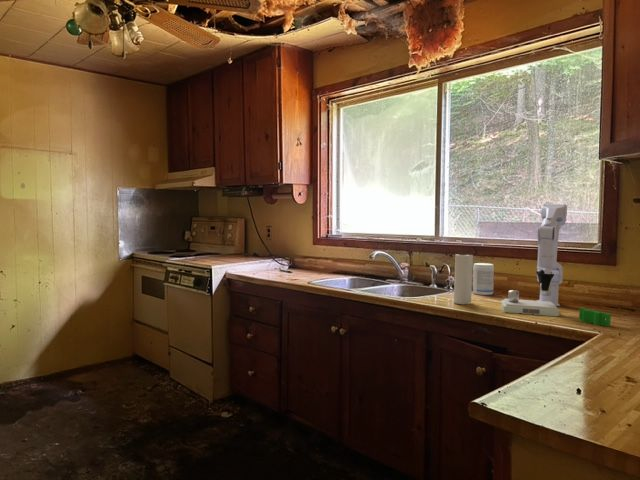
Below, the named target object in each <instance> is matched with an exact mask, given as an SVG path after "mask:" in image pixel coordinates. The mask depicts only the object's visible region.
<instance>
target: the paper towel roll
mask: <svg viewBox="0 0 640 480" xmlns="http://www.w3.org/2000/svg"><path fill="white" fill-rule="evenodd" d="M454 259H455V260H454V285H453V288H454V289H453V303H454V304H457V305H469V304H470V303H472V293H473V266H474V262H473V261H474V254H465V253H459V254H458V253H457V254H456V253H455V257H454Z"/></svg>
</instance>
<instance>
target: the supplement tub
mask: <svg viewBox="0 0 640 480" xmlns="http://www.w3.org/2000/svg"><path fill="white" fill-rule="evenodd" d="M494 275H495V267H494V264H493V263H486V262H477V263H474V262H473V267H472V293H473V294H475V295H480V296H492V295H494V283H495V281H494V280H495V279H494V278H495V277H494Z"/></svg>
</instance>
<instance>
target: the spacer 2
mask: <svg viewBox="0 0 640 480" xmlns="http://www.w3.org/2000/svg"><path fill="white" fill-rule="evenodd" d="M540 295H545V296H550V295H551V284H550V285H549V289H548V291H542V288H541V283H540V285H539V296H540Z"/></svg>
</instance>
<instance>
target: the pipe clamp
mask: <svg viewBox="0 0 640 480" xmlns="http://www.w3.org/2000/svg"><path fill="white" fill-rule="evenodd" d="M578 314H579V316H578V319H580V321H581V322H582V323H588V322H589V324H593V325H594V326H600V325H601V326H605V327H611V318H612V317H611V316H612V313H607V312H603V311H597V310H593V309H588V308H584V307H580V308H579V312H578Z"/></svg>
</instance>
